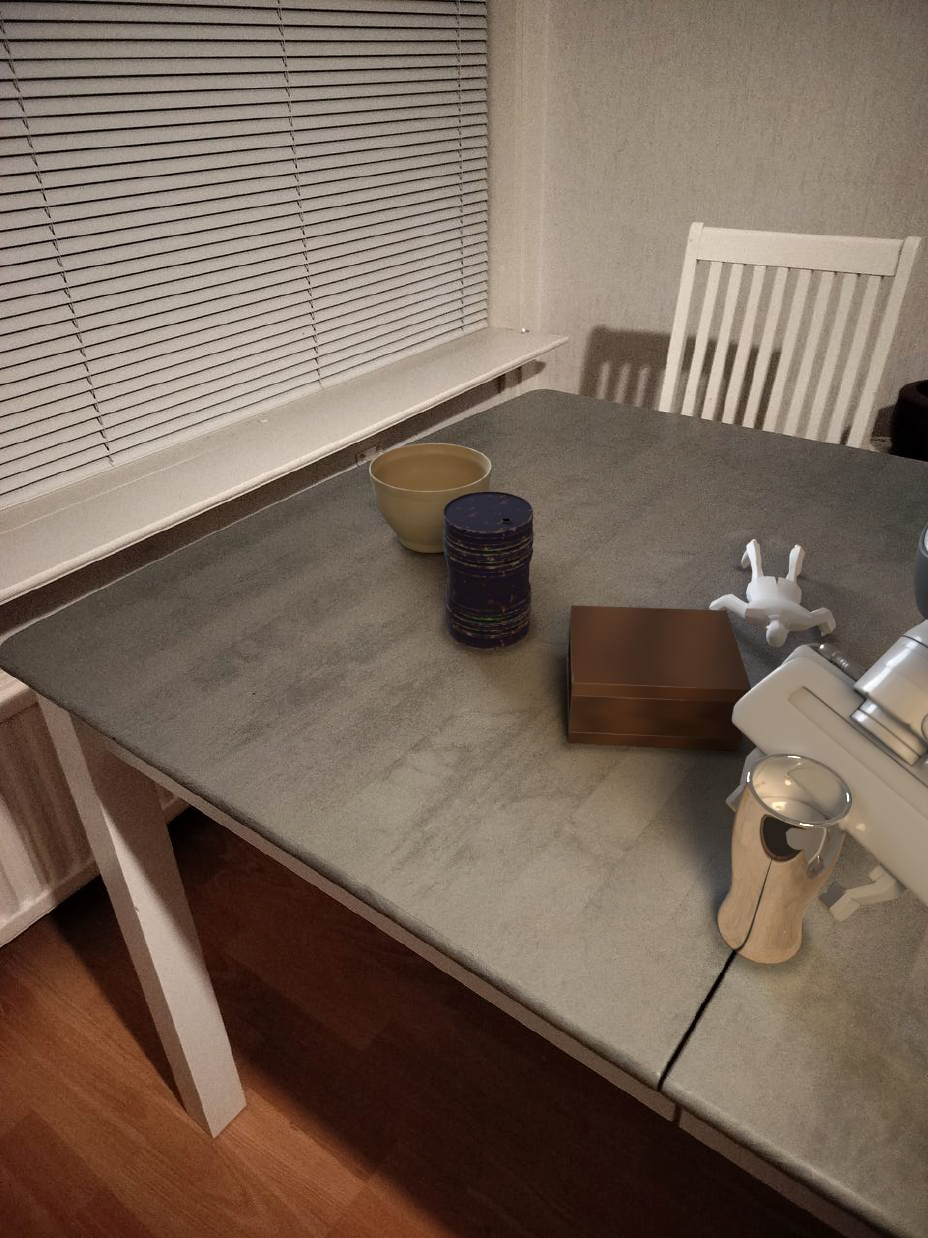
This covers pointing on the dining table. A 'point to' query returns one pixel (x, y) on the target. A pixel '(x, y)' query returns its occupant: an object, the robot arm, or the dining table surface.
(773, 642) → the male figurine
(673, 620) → the wooden keepsake box
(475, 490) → the planter bowl
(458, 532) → the dark blue oil drum
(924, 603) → the robot arm
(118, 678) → the dining table surface
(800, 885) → the beer glass
